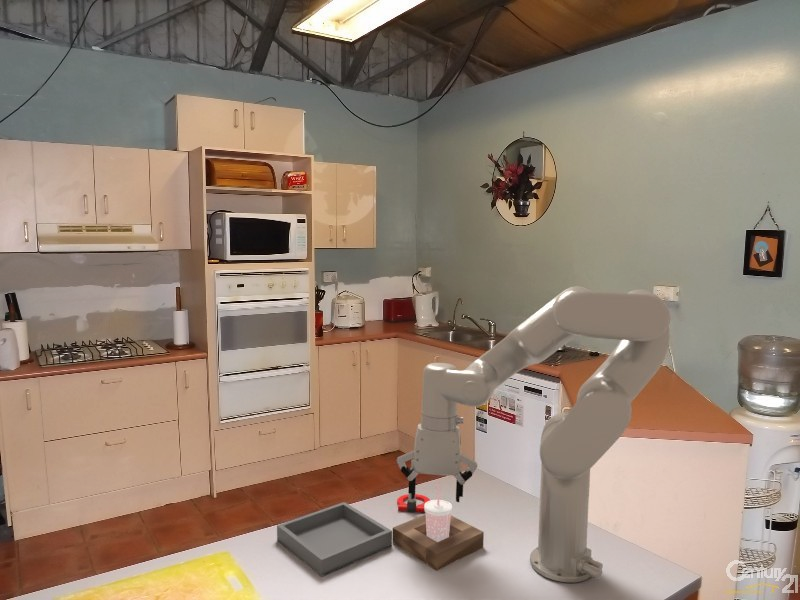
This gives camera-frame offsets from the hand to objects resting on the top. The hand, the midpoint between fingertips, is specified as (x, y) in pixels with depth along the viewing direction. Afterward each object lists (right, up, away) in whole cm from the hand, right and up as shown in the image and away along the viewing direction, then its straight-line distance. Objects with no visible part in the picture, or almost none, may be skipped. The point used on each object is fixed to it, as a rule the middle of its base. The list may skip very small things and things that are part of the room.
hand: (435, 497), depth 126 cm
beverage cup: (+1, -11, +1) cm, 11 cm away
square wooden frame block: (+1, -11, +1) cm, 11 cm away
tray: (-22, -10, +1) cm, 25 cm away
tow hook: (-4, -9, +20) cm, 23 cm away
